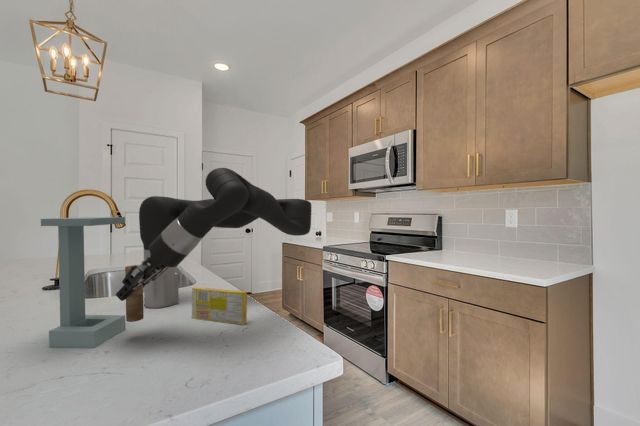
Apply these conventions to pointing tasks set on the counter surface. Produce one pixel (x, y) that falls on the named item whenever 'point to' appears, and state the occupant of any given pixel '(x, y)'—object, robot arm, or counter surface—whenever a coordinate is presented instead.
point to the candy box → (219, 305)
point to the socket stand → (79, 288)
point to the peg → (134, 302)
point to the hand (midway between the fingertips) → (125, 295)
